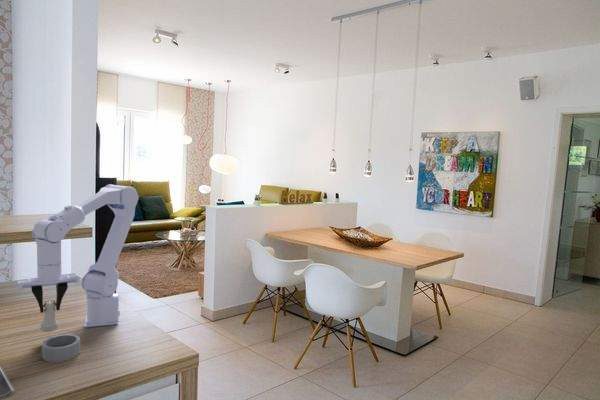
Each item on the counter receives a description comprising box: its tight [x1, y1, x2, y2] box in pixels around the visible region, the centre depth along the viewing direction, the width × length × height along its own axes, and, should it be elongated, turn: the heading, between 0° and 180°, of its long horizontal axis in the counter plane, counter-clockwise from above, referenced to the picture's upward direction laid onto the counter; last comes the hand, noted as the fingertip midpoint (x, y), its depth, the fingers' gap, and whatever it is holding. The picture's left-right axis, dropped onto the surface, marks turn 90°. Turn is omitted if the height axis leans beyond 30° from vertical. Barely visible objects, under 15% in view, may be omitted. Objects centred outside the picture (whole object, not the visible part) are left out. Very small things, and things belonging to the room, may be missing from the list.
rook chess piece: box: [39, 299, 59, 333], centre depth 117 cm, size 4×4×8 cm
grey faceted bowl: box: [41, 333, 81, 363], centre depth 111 cm, size 9×9×4 cm
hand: (49, 310), depth 117 cm, fingers closed on rook chess piece, 3 cm apart
